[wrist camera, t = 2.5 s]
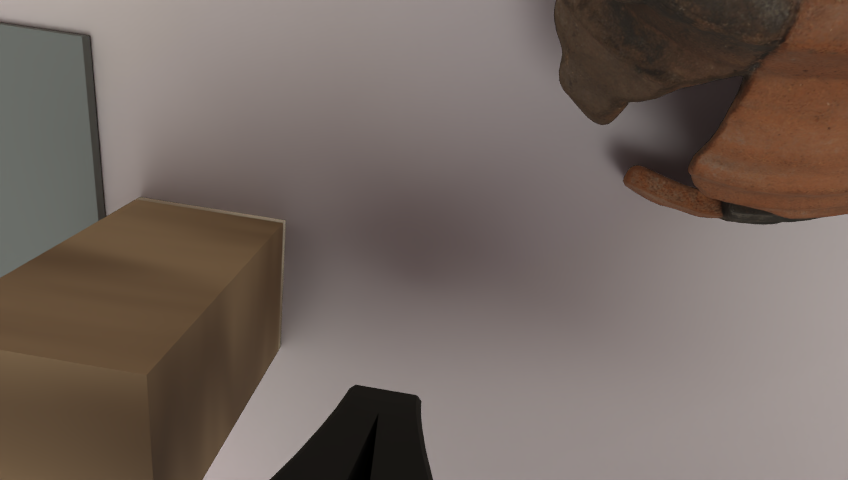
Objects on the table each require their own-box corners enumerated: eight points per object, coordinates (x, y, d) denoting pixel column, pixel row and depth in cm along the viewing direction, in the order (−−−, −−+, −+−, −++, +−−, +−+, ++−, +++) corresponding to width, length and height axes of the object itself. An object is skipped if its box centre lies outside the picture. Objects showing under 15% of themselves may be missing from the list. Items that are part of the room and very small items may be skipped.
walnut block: (280, 346, 17) (157, 555, 11) (147, 324, 17) (-51, 516, 11) (285, 220, 16) (146, 375, 9) (139, 197, 16) (-96, 333, 9)
